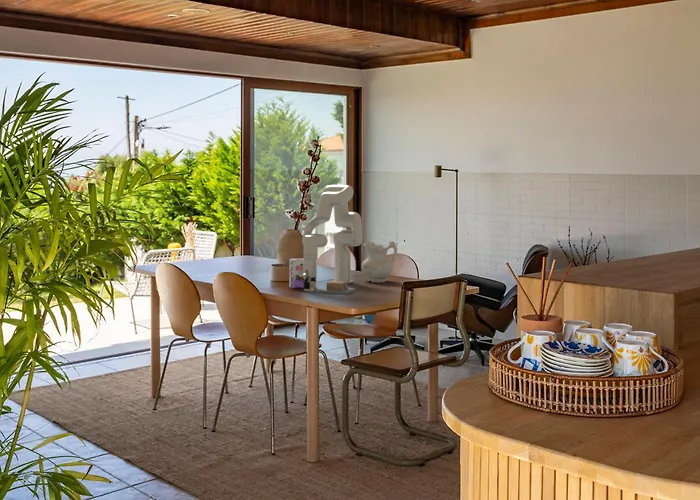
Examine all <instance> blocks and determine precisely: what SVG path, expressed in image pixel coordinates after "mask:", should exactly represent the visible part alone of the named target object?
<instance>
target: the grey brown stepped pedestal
mask: <svg viewBox="0 0 700 500" xmlns="http://www.w3.org/2000/svg"><path fill="white" fill-rule="evenodd" d="M348 285H349V283H348V282H347V281H332V280H330V281H327V282H326V287H324V288H323V287H322V288H321V289H318V290H317V292H318V294H329V295H330V294H331V295H349V294H351V293H354V292H356V287H348Z"/></svg>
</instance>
